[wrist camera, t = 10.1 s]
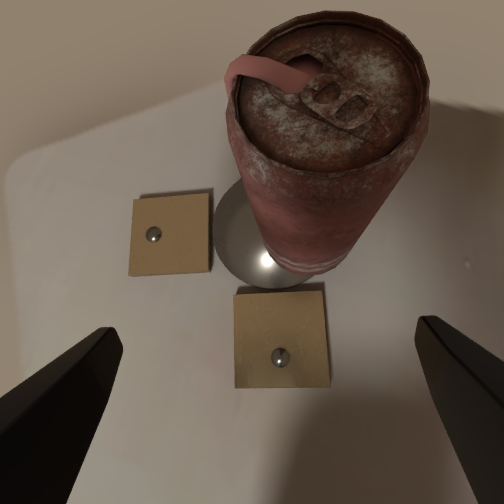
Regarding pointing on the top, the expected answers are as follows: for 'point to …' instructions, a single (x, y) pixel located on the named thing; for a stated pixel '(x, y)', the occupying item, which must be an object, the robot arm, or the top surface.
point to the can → (324, 130)
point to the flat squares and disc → (246, 269)
